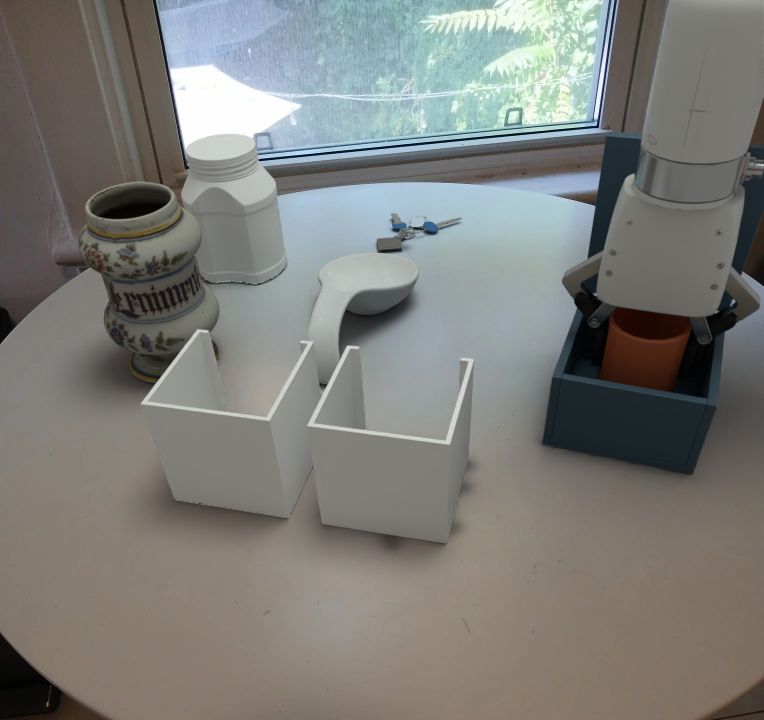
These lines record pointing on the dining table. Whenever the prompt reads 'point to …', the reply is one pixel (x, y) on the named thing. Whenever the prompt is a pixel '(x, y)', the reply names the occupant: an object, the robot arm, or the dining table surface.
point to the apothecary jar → (148, 273)
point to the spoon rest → (355, 298)
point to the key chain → (396, 240)
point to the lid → (623, 163)
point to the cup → (644, 348)
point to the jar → (233, 210)
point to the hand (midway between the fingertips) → (639, 364)
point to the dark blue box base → (630, 409)
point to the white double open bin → (306, 448)
